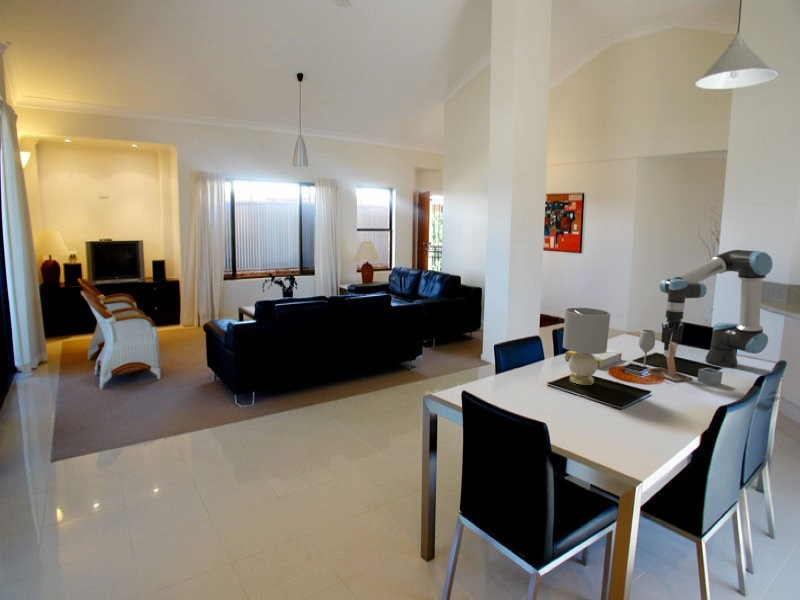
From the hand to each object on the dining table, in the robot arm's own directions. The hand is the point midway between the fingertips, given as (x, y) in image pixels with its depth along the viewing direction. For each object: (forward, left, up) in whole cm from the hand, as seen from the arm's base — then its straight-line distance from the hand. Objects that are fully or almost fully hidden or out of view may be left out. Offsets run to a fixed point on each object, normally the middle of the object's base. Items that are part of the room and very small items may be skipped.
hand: (669, 355), depth 246 cm
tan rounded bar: (0, +1, -9) cm, 9 cm away
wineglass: (-1, -15, -12) cm, 19 cm away
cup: (-10, +15, -12) cm, 21 cm away
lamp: (+47, -9, -12) cm, 49 cm away
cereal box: (+13, -37, -12) cm, 41 cm away
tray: (0, 0, -12) cm, 12 cm away
